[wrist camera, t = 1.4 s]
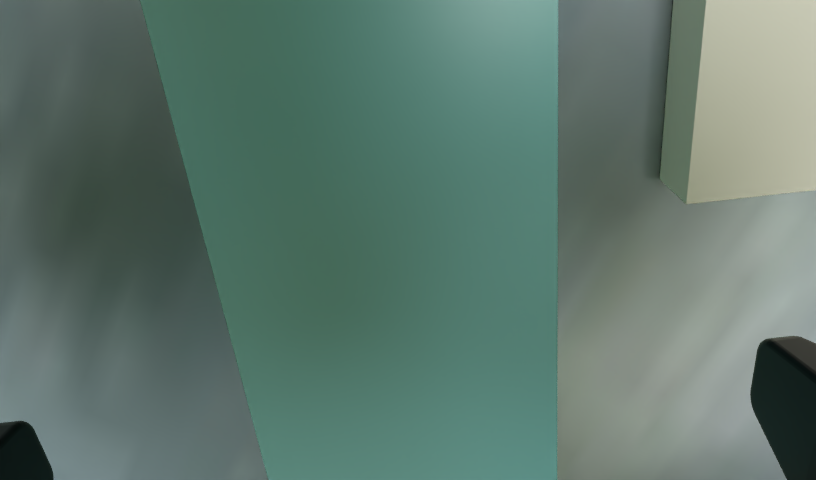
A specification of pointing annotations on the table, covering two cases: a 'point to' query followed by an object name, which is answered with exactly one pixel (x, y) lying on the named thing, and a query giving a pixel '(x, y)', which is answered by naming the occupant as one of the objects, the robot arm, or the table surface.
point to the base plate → (740, 99)
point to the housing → (378, 225)
